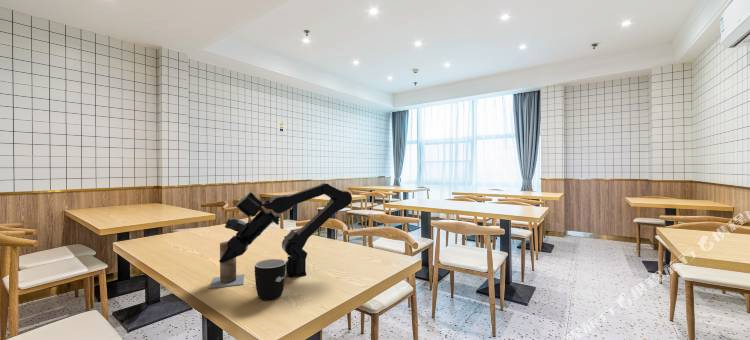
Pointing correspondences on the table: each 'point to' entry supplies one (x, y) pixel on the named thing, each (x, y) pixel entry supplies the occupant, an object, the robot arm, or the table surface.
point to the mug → (270, 278)
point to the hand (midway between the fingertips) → (223, 258)
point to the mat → (217, 283)
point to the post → (227, 266)
